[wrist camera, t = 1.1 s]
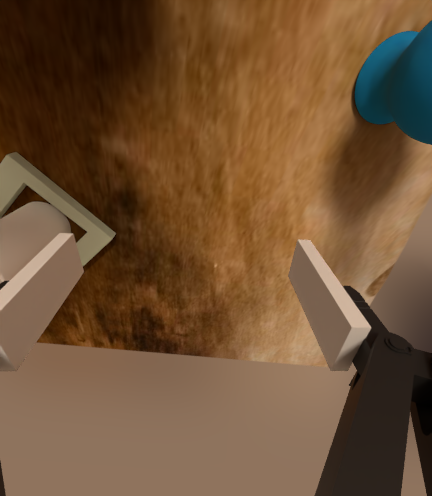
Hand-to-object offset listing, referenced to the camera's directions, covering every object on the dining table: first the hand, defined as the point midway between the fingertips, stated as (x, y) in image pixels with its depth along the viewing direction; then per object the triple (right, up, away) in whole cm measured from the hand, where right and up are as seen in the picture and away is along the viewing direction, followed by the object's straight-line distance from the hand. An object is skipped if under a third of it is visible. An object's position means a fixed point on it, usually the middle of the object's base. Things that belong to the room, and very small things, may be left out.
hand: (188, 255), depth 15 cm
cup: (-27, +5, +28) cm, 39 cm away
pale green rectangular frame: (-27, +4, +27) cm, 39 cm away
